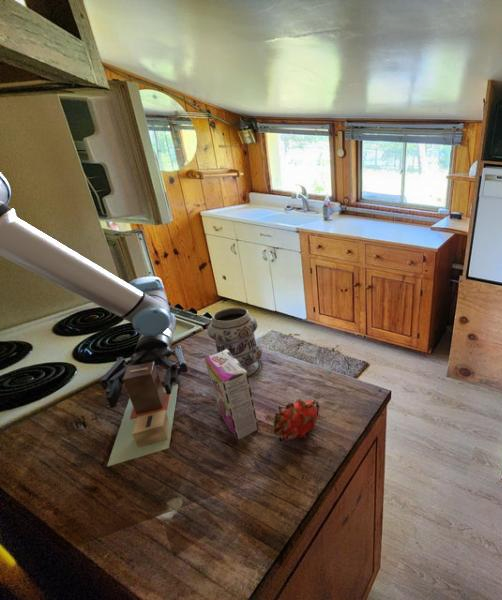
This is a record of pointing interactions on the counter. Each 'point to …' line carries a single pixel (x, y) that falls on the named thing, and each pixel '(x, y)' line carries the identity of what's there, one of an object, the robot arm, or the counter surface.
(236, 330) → the apothecary jar
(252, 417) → the candy bar box
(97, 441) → the counter surface
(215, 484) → the counter surface
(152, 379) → the brown rectangular block
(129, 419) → the word mat
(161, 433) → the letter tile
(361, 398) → the counter surface
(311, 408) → the dragon fruit
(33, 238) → the robot arm
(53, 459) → the counter surface
